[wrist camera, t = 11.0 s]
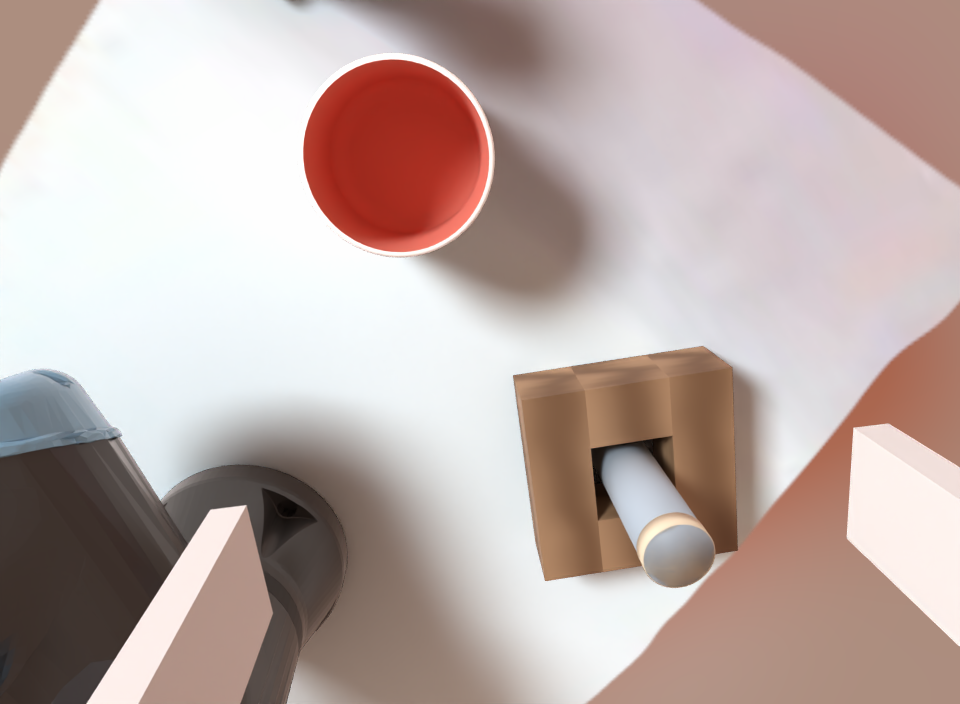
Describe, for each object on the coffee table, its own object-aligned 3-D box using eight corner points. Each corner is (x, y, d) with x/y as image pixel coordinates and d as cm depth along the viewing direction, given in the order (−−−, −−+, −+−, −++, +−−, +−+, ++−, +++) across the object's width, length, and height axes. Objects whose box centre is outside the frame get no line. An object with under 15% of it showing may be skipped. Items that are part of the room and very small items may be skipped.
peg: (590, 476, 51) (645, 593, 37) (585, 427, 50) (640, 530, 36) (643, 468, 51) (716, 581, 37) (639, 419, 50) (713, 518, 36)
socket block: (535, 541, 52) (545, 581, 47) (513, 375, 48) (521, 400, 43) (710, 513, 52) (737, 550, 48) (703, 346, 48) (732, 367, 43)
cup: (505, 200, 44) (523, 213, 35) (368, 257, 45) (349, 286, 35) (447, 48, 41) (449, 18, 32) (301, 112, 42) (261, 101, 32)
